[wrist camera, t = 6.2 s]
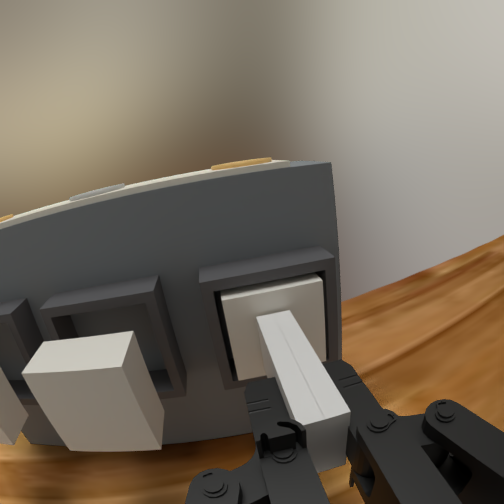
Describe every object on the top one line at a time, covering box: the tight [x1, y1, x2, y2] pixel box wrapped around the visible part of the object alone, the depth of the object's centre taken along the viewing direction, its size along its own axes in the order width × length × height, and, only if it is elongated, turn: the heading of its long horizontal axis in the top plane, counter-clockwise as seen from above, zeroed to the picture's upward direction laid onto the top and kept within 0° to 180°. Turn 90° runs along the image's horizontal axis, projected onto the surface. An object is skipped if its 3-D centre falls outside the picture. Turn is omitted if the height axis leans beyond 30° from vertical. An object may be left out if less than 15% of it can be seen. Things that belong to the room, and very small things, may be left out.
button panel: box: [0, 158, 342, 446], centre depth 17 cm, size 24×7×16 cm, turn 98°
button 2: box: [220, 272, 326, 381], centre depth 15 cm, size 4×2×4 cm, turn 98°
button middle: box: [21, 331, 164, 452], centre depth 11 cm, size 4×2×4 cm, turn 98°
